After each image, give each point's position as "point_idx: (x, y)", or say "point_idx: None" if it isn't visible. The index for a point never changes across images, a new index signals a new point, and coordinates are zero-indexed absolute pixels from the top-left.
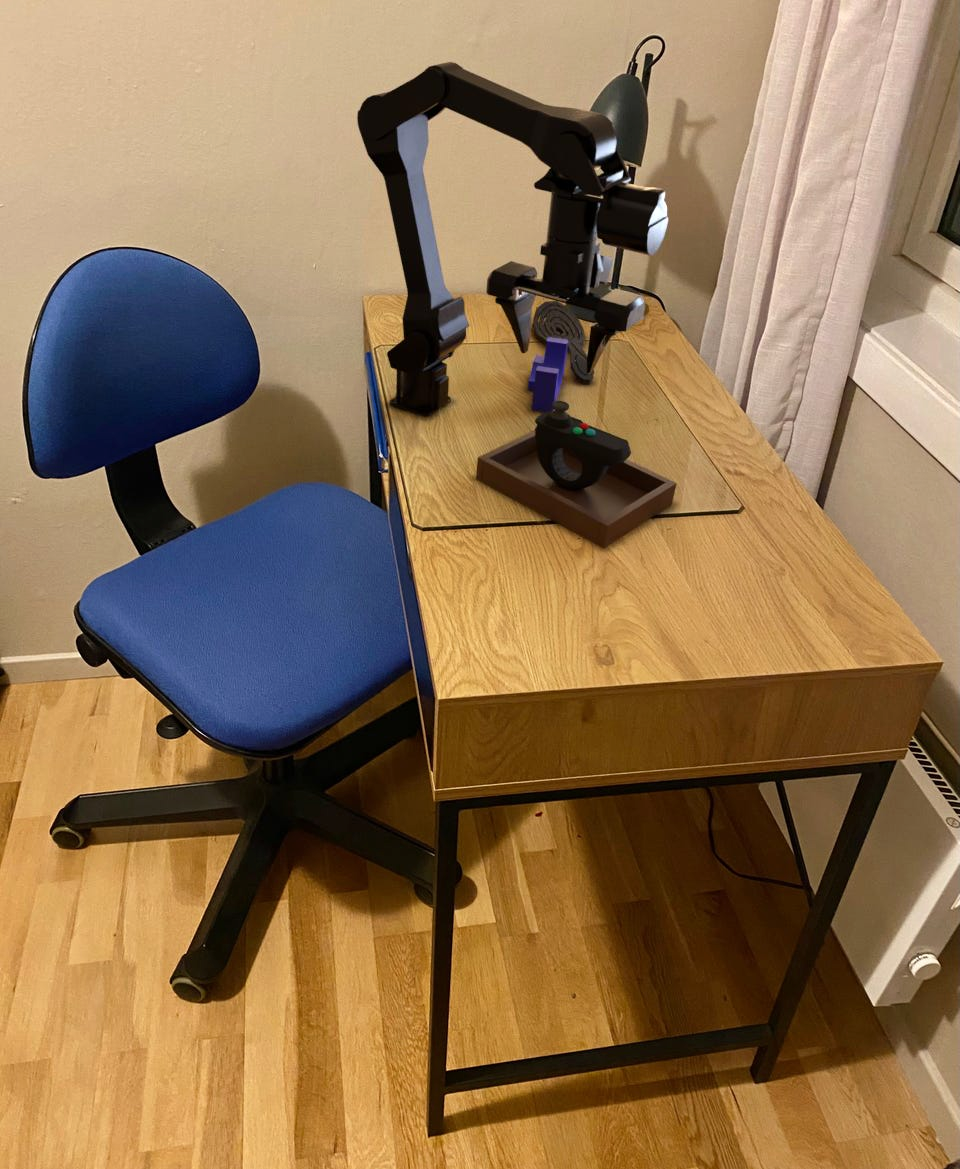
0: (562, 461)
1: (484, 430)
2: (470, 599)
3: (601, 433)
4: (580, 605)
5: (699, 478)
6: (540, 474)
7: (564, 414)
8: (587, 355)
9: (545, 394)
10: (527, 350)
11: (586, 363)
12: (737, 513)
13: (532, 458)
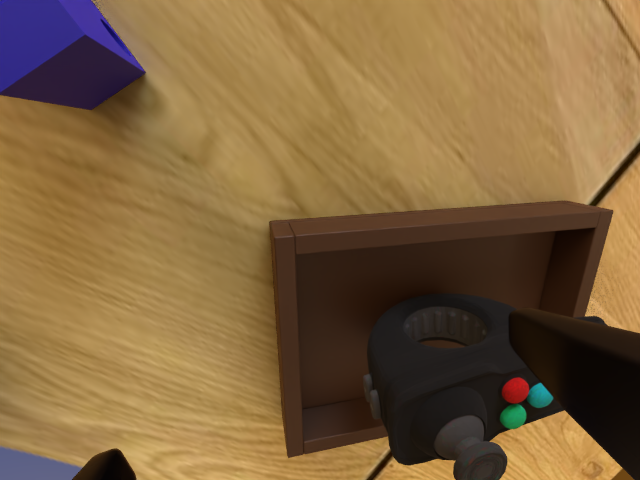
0: (404, 326)
1: (127, 297)
2: None
3: None
4: (548, 451)
5: (578, 66)
6: (359, 334)
7: (481, 441)
8: (633, 477)
9: (97, 79)
10: (116, 453)
11: (563, 408)
12: None
13: (308, 308)
